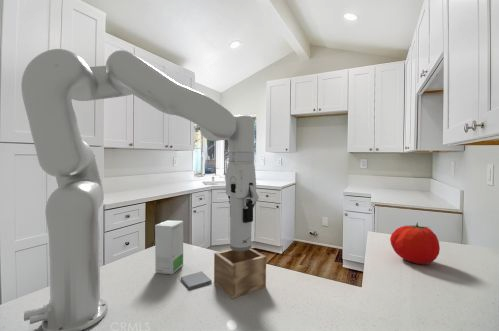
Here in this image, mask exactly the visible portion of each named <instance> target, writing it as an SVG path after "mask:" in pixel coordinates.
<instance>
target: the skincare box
mask: <svg viewBox="0 0 499 331" xmlns="http://www.w3.org/2000/svg"><path fill="white" fill-rule="evenodd" d="M154 229H155V232H154V234H155V235H154V236H155V237H154V238H155V239H154V241H155V243H154V245H155V247H154V248H155V250H154V254H155V258H154V259H155V261H154V262H155V266H154V267H155V269H154V270H155V273H157V274H164V275H165V274H166V275H173V274H174V273H175V272H177V271H178V270H179V269H180V268H182V267H183V266H184V221H183V220H171V219H169V220H165V221H162V222H160V223H157V224H155V225H154Z"/></svg>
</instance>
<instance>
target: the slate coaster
mask: <svg viewBox="0 0 499 331" xmlns="http://www.w3.org/2000/svg"><path fill="white" fill-rule="evenodd" d="M180 281H181V282H182V283H183V285H185V286H186V288H187V289H188V290H193V289H196V288H199V287H203V286H207V285H209V284H211V283H212V279H211V278H210V277H209V276H208V275H207V274H205V273H204V272H203V271H198V272H194V273H190V274H187V275H184V276H180Z"/></svg>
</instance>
